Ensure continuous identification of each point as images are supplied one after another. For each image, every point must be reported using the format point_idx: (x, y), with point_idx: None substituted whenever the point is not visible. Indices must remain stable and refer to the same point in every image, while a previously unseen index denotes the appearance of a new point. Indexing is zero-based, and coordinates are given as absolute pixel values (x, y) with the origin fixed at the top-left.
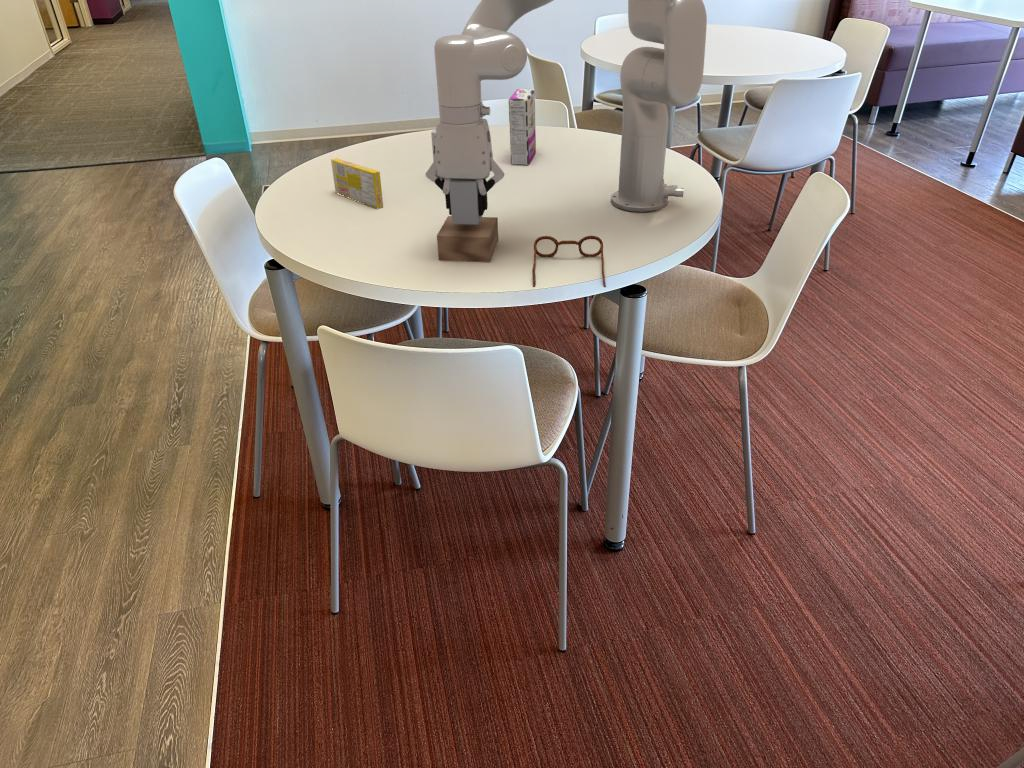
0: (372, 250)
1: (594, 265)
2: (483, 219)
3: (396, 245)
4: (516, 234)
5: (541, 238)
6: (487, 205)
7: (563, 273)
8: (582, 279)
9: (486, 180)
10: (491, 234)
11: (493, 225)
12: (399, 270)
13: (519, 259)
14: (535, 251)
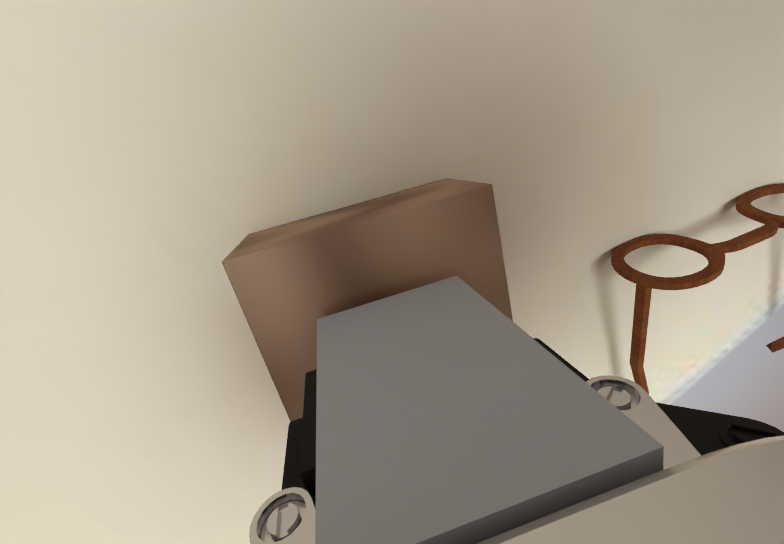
0: (7, 441)
1: (757, 247)
2: (432, 235)
3: (65, 366)
4: (491, 81)
5: (685, 285)
6: (538, 341)
7: (683, 324)
8: (727, 335)
9: (683, 440)
10: None
11: (503, 286)
12: (235, 504)
13: (557, 292)
14: (645, 326)
